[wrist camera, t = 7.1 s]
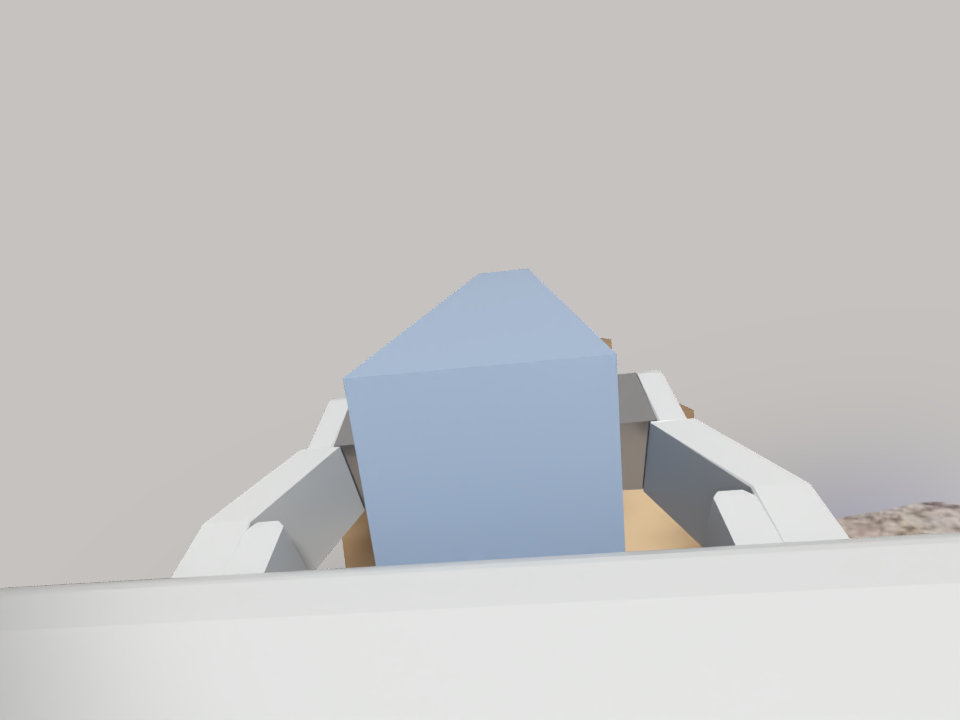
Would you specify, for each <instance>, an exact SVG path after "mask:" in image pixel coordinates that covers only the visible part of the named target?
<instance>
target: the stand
mask: <svg viewBox="0 0 960 720" xmlns="http://www.w3.org/2000/svg"><path fill="white" fill-rule="evenodd" d="M600 339H601V340H603V341H604V342H605V343H606V344H607V345H608V346H609V347H610V348H611V349H612V345H611V339H604V338H600ZM617 375H618V374H617ZM679 405H680V407H681V408H682V410H683V412H684V414H685V416H686V418H687V419H691V418H694V412H693V410H692V409H690V408H688V407H685V406H683V405H681V404H679ZM364 509H365V511H364V512H363V513H362V515H361V516H360V517H359V518H358V519H357V521H356V522H355V523H354V524H353V525H352V527H351V528H350V529H349V530H348V531H347V533H346V534H345V535H344V536H343V537H342V540H343V548H344V557H345V565H346V568H353V567H370V566H376V563H375V557H374V552H373V546H372V541H371V535H370V529H369V524H368V518H367V512H366V508H364ZM623 510H624V532H625V552H629V551H646V550H664V549H681V548H699V547H702V546H701V545H700V544H699V543H698V542H697V541H696V540H694V539H693V538H692V537H691V536H690V535H689V534H688V533H687V532H686V531H685V530H684V529H683V528H682V527H681V526H680V525H679V524H678V523H676V522H675V521H674V520H673V519H672V518H671V517H670V516H669V515H668V514H667V513H666V512H665V511H664V510H663V509H662V508H661V507H659V506H658V505H657V504H656V503H655V502H654V501H653V500H652V499H651V498H650V497H649V496H648V495H647V494H646V493H645V492H644V491H643V489H638V490H623Z"/></svg>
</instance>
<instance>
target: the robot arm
mask: <svg viewBox="0 0 960 720" xmlns="http://www.w3.org/2000/svg"><path fill="white" fill-rule="evenodd" d="M617 376H618V398H619V421H620V443H621V465H622V488H623V490H638V489H643V491H644V492H645V493H646V494H647V495H648V496H649V497H650V498H651V499H652V500H653V501H654V502H655V503H656V504H657V505H658V506H659V507H661V508H662V509H663V510H664V511H665V512H666V513H667V514H668V515H669V516H670V517H671V518H672V519H673V520H674V521H675V522H676V523H678V524H679V525H680V526H681V527H682V528H683V529H684V530H685V531H686V532H687V533H688V534H689V535H690V536H691V537H692V538H693V539H694V540H696V541H697V542H698V543H699V544H700V545H701V546H702V547H699V548H681V549H664V550H646V551H629V552H611V553H594V554H576V555H559V556H541V557H524V558H507V559H490V560H473V561H456V562H439V563H422V564H405V565H388V566H370V567H353V568H336V569H319V570H316V569H317V567H318V566H319V565H320V564H321V563H322V561H323V560H324V559H325V558H326V557H327V555H328V554H329V553H330V552H331V551H332V549H333V548H334V547H335V546H336V544H337V543H338V542H339V541H340V539H342V537H343V536H344V535H345V534H346V533H347V531H348V530H349V529H350V528H351V527H352V525H353V524H354V523H355V522H356V521H357V519H358V518H359V517H360V516H361V515H362V513H363V512H364V511H365V509H364V508H366V507H365V501H364V495H363V490H362V484H361V478H360V473H359V467H358V461H357V456H356V450H355V445H354V439H353V433H352V428H351V422H350V416H349V411H348V405H347V399H346V397H344V398H334V399H332V400H331V401H329V403H328V405H327V407H326V409H325V411H324V414H323V416H322V418H321V420H320V423H319V425H318V427H317V429H316V431H315V434H314V436H313V438H312V440H311V442H310V445H309V447H308V449H303V450H300V451H299V452H297V453H296V454H295V455H293V456H292V457H291V458H289V459H288V460H287V461H285V462H284V463H283V464H282V465H280V466H279V467H277V468H276V469H275V470H273V471H272V472H271V473H270V474H268V475H267V476H266V477H264V478H263V479H262V480H260V481H259V482H258V483H256V484H255V485H254V486H252V487H251V488H250V489H248V490H247V491H246V492H245V493H243V494H242V495H241V496H239V497H238V498H237V499H235V500H234V501H233V502H231V503H230V504H229V505H227V506H226V507H225V508H223V509H222V510H221V511H220V512H218V513H217V514H216V515H214V516H213V517H212V518H210V519H209V520H208V521H206V522H205V523H204V524H203V525H202V527H201V528H200V530H199V532H198V534H197V535H196V537H195V538H194V540H193V542H192V543H191V545H190V547H189V548H188V550H187V552H186V554H185V556H184V557H183V558H182V560H181V562H180V563H179V565H178V567H177V569H176V570H175V572H174V574H173V575H172V577H171V578H165V579H149V580H148V579H147V580H130V581H113V582H95V583H78V584H61V585H45V586H27V587H9V588H0V720H960V532H955V533H938V534H921V535H904V536H886V537H869V538H852V539H850V538H849V537H848V536H847V534H846V533H845V531H844V530H843V529H842V527H841V526H840V525H839V523H838V522H837V520H836V519H835V518H834V516H833V515H832V514H831V512H830V511H829V510H828V508H827V507H826V505H825V504H824V503H823V501H822V500H821V498H820V497H819V496H818V494H817V493H816V492H815V490H814V489H813V487H812V486H811V485H810V484H809V483H808V482H806V481H804V480H802V479H801V478H799V477H797V476H795V475H794V474H792V473H790V472H788V471H787V470H785V469H783V468H781V467H780V466H778V465H776V464H774V463H772V462H771V461H769V460H767V459H765V458H764V457H762V456H760V455H758V454H757V453H755V452H753V451H751V450H749V449H748V448H746V447H744V446H742V445H741V444H739V443H737V442H735V441H734V440H732V439H730V438H728V437H727V436H725V435H723V434H721V433H719V432H718V431H716V430H714V429H712V428H711V427H709V426H707V425H705V424H704V423H702V422H700V421H698V420H697V419H695V418H691V419H687V418H686V416H685V414H684V412H683V410H682V408H681V407H680V405H679V403H678V401H677V399H676V397H675V395H674V393H673V392H672V390H671V388H670V386H669V384H668V382H667V380H666V379H665V377H664V375H663V373H662V372H661V371H660V370H658V369H657V370H649V371H640V372H635V373H630V374H618V375H617Z"/></svg>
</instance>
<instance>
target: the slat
mask: <svg viewBox="0 0 960 720" xmlns="http://www.w3.org/2000/svg"><path fill="white" fill-rule="evenodd" d="M343 382H344V388H345V394H346V399H347V405H348V411H349V416H350V422H351V428H352V433H353V439H354V445H355V450H356V456H357V461H358V467H359V473H360V478H361V484H362V490H363V495H364V501H365V507H366V512H367V518H368V524H369V529H370V535H371V541H372V546H373V552H374V557H375V563H376V566H388V565H405V564H422V563H439V562H456V561H473V560H490V559H507V558H524V557H541V556H559V555H576V554H594V553H611V552H625V532H624V510H623V488H622V465H621V443H620V421H619V398H618V376H617V355H616V353H615V352H614V351H613V350H612V349H611V348H610V347H609V346H608V345H607V344H606V343H605V342H604V341H603V340H601V339H600V338H599V337H598V336H597V335H596V334H595V333H594V332H593V331H592V330H591V329H590V328H589V327H588V326H587V325H586V324H585V323H584V322H583V321H582V320H581V319H580V318H578V316H577V315H575V314H574V313H573V312H572V311H571V310H570V309H569V308H568V307H567V306H566V305H565V304H564V303H563V302H562V301H561V300H560V299H559V298H558V297H557V296H556V295H555V294H554V293H553V292H552V291H551V290H550V289H549V288H548V287H547V286H546V285H545V284H544V283H542V282H541V281H540V280H539V279H538V278H537V277H536V276H535V275H534V274H533V273H532V272H531V271H530V270H529V269H520V270H510V271H501V272H492V273H482V274H478V275H476V276H475V277H474V278H473V279H471V280H470V281H469V282H467V283H466V284H465V285H464V286H462V287H461V288H460V289H458V290H457V291H456V292H454V293H453V294H452V295H451V296H449V297H448V298H447V299H445V300H444V301H443V302H441V304H439V305H438V306H436V307H435V308H434V309H432V310H431V311H430V312H429V313H427V314H426V315H425V316H424V317H422V318H421V319H419V320H418V321H417V322H416V323H414V324H413V325H412V326H411V327H409V328H408V329H407V330H405V331H404V332H403V333H401V334H400V335H399V336H397V337H396V338H395V339H394V340H392V341H391V342H390V343H388V344H387V345H386V346H385V347H383V348H382V349H381V350H379V351H378V352H377V353H375V354H374V355H373V356H372V357H370V358H369V359H368V360H366V361H365V362H364V363H363V364H361V365H360V366H359V367H357V368H356V369H355V370H354V371H352V372H351V373H350V374H348V375H347V376H346V377H345V378H343Z"/></svg>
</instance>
